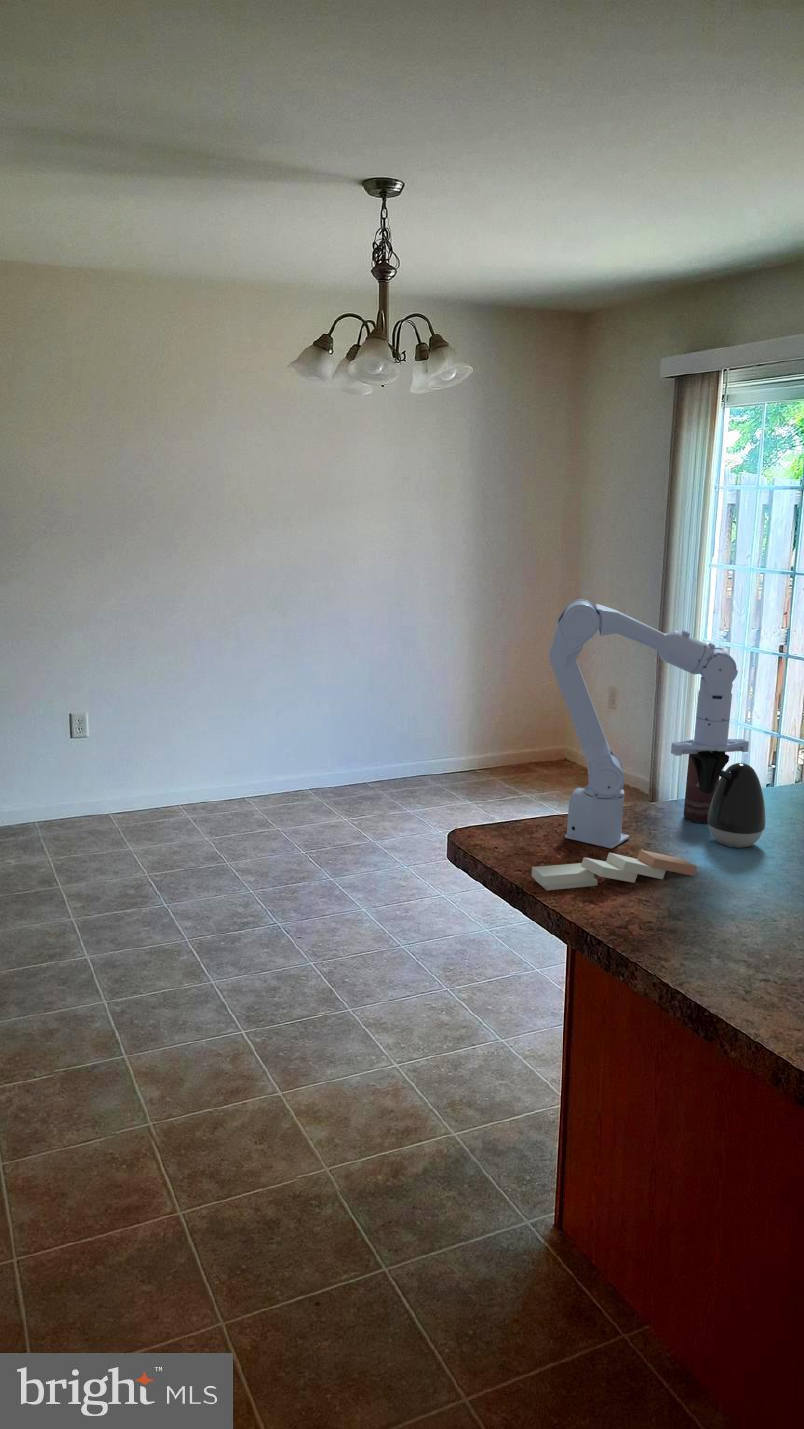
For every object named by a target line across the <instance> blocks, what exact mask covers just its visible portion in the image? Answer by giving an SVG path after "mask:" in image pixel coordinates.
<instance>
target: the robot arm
mask: <svg viewBox="0 0 804 1429" xmlns="http://www.w3.org/2000/svg"><path fill="white" fill-rule="evenodd" d="M598 631H599V634H600V636H601V637H603V636H604V637H605V636H608V635H614V634H617V635H620V636H622V637H624V638H627V639H629V640H632V641H635V642H636V643H640V644H642V645H644V646H646V647H649V648H652V649H654V650H657V652H658V654H659V658H660V661H663V662H665V663H668V664H670V665H672V666H674V667H676V668H678V669H680V670H682V671H686V672H687V673H689V674H692V675H701V677H700V684H699V690H698V692H697V703H696V714H695V715H696V716H695V727H694V736H693V737H694V738H693V739H688V740H684V741H676V742H675V741H674V742H671V746H670V747H671V748H670V749H671V750H670V753H671V754H672V755H674V756H682V755H689V754H690V757H691V759H692V761H693V763H694V766H695V769H696V772H697V776H698V781H699V788H700V791H702V792H704V793H706V794H707V793H712V792H713V789H714V786H715V784H716V781H717V779H718V777H719V775H720V773H721V771H722V770H723V769H724V768H725V767H726V765H727V764H728V762H729V760H730V756H729V754H726V753H732V752H742V753H749V746H750V741H749V740H745V739H743V738H737V739H736V738H729V730H730V722H731V721H730V720H731V709H732V700H733V693H732V690H733V682H734V681H735V679H736V678H737V676H738V673H739V670H737V664H736V661H735V660H734V658H733V657H732V656H731V655H730V654H729V653H728V652H727V651H725V650H723V649H722V648H721V647H716V644H714V643H712V642H709V643H708V644H707V643H705V642H703V641H701V640H699V639H696V638H694V637H692V636H690V635H691V633H690V632H689V631H687V630H685V629H682V631H678V630H673V631H672V630H671V631H670V632H667V633H664V632H662V631H660V630H658V629H656V628H654V627H652V626H650V625H648V624H646V623H644V622H641V620H637V619H636V618H633V617H631V616H629V615H627V614H625V613H623V612H621V611H619V610H616V609H614V608H611V607H608V606H605V605H603V604H599V603H595V605H594V603H593V602H591V601H589V600H587V599H585V598H584V599H583V598H581V599H580V598H579V599H575V600H572V601H570V602H569V603H568V604H567V605H566V606H565V608H564V609H563V611H562V612H561V614H560V615H559V617H557V622H556V627H555V630H554V634H553V637H552V641H551V645H550V649H549V655H548V657H549V658H548V659H549V663H550V666H551V668H552V670H553V673H554V676H555V679H556V681H557V684H558V686H559V689H560V692H561V694H562V697H563V700H564V703H565V706H566V708H567V710H568V714H569V716H570V718H571V721H572V724H573V726H574V729H575V732H576V735H577V738H578V740H579V742H580V745H581V748H582V751H583V754H584V758H585V761H586V765H587V772H588V781H587V782H588V783H587V784H586V785H585V786H584V788H583V787H577V788H575V789H574V790H573V792H572V793H571V795H570V798H569V801H568V810H567V812H568V813H567V825H566V826H567V828H566V829H567V830H566V834H565V835H564V837H565V838H566V839H569V840H573V841H578V842H581V843H586V844H590V845H595V846H598V847H603V848H607V849H614V848H615V847H617V846H618V845H620V844H622V843H623V842H625V841H626V840H628V839H629V838H630V835H629V834H626V833H625V834H624V833H622V829H623V817H624V816H623V815H624V803H625V801H624V800H625V790H624V789H623V788H624V786H625V774H624V772H623V766H622V761H621V759H620V758H619V757H618V755H617V754H615V753H614V752H613V750H612V749H611V746H610V744H609V742H608V739H607V737H606V735H605V732H604V729H603V726H602V725H601V722H600V718H599V716H598V713H597V711H596V708H595V705H594V702H593V699H592V698H591V695H590V691H589V688H588V686H587V684H586V681H585V679H584V676H583V673H582V670H581V668H580V665H579V663H578V662H579V661H578V659H577V658H578V657H579V655H580V653H581V652H582V650H583V648H584V646H585V645H586V644H587V642H588V641H590V640H591V639H592V638H593V637H594V636H595V635H596V633H597V632H598Z"/></svg>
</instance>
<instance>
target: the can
mask: <svg viewBox="0 0 804 1429" xmlns="http://www.w3.org/2000/svg"><path fill="white" fill-rule="evenodd" d="M686 771H687V773H686V782H685V794H684V806H683V817H684V819H685V820H686V821H688V822H689V823H695V824H701V825H704V824H705V825H706V824H708V823H707V816H708V811H709V807H710V803H711V800H712V797H713V794H714V791H715V789H716V787H717V784H718V782H719V780H720V778H721V776H719V777H718V779H717V781H716V784H715V786H714V789H713V792H712V793H707V794H706V793H704V792H702V791H700V788H699V781H698V776H697V772H696V769H695V766H694V763H693V761H692V759H691V757H690V754H688V760H687V770H686Z"/></svg>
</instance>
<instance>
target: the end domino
mask: <svg viewBox="0 0 804 1429" xmlns="http://www.w3.org/2000/svg"><path fill="white" fill-rule="evenodd" d="M636 859H639V860H640V861H642V862H644V863H645V864H647V865H649V866H651V867H653V868H658V869H662V870H666V871H668V872H672V873H679V874H682V875H688V876H692V877H695V875H696V873H697V870H698V866H697V865H695V864H692V863H691V862H689V861H687V860H686V859H683V858H681V857H677V856H671V855H667V854H662V853H658V852H653V851H648V850H643V849H639V851H638V853H637V857H636Z"/></svg>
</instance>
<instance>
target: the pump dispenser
mask: <svg viewBox="0 0 804 1429" xmlns="http://www.w3.org/2000/svg"><path fill="white" fill-rule="evenodd" d="M719 776H720V778H719V782H718V784H717V787H716V789H715V791H714V794H713V797H712V800H711V803H710V807H709V811H708V816H707V824H708V829H709V832H710V834H711V836H712V838H713V839H714V840H715V841H717V843H719V844H721V845H723V846H726V847H729V848H736V849H739V848H741V849H743V848H747V847H750V846H752V845H754V844H756V842H758V840H759V839H760V838H761V836H762V834H763V831H765V829H766V807H765V806H766V805H765V799H764V798H765V797H764V793H763V789H762V785H761V782H760V778H759V777H758V775H757V773H756V771H755V769H754V768H753V767H752V766H751V765H749V764H747V763H744V762H737V763H733V764H731V765H730V766H728V767H727V769H726V770H723V769H722V771H721V773H720V775H719Z"/></svg>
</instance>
